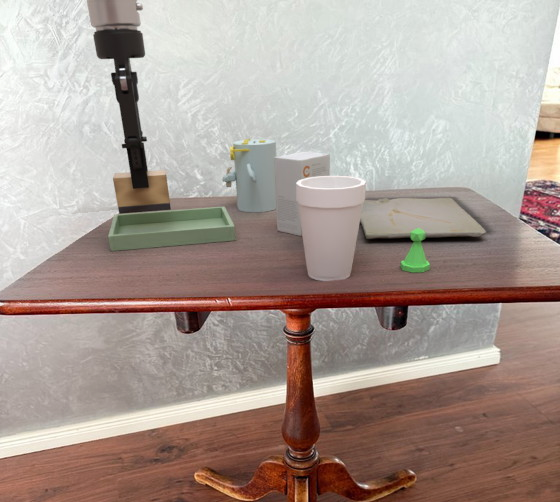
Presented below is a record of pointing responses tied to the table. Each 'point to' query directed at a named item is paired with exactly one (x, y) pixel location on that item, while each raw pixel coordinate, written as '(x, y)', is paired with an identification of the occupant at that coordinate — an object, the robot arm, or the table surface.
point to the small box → (286, 178)
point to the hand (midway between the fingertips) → (141, 184)
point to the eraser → (142, 193)
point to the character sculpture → (253, 174)
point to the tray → (170, 228)
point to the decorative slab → (417, 218)
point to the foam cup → (330, 223)
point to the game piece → (416, 254)
